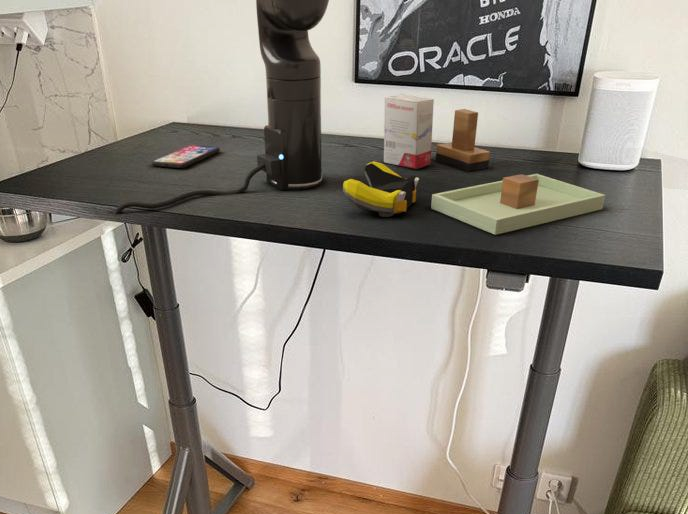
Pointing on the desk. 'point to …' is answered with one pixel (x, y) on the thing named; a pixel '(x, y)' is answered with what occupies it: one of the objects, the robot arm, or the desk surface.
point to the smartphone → (185, 156)
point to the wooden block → (519, 191)
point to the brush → (463, 144)
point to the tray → (497, 218)
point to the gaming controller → (382, 190)
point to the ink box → (408, 130)
